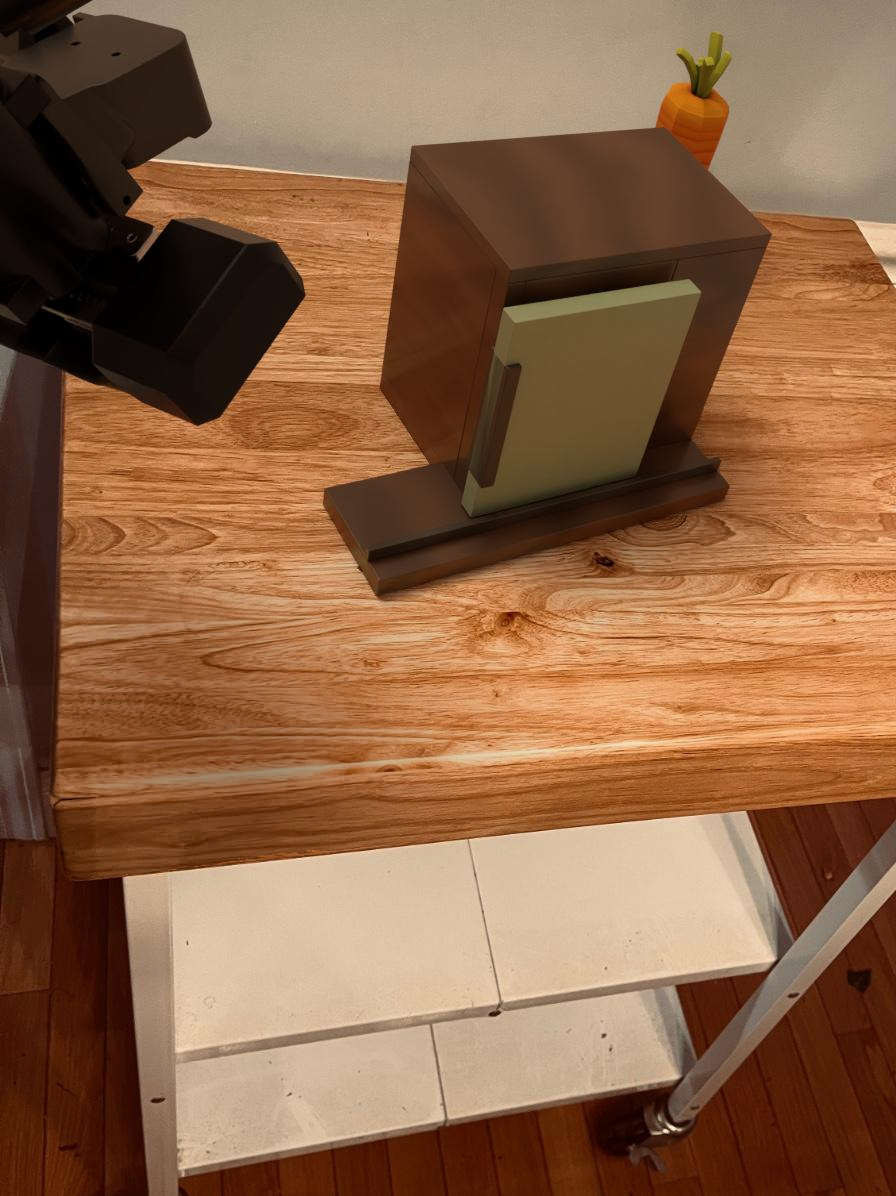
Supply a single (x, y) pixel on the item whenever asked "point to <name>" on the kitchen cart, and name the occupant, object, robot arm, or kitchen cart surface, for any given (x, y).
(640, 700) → the kitchen cart surface
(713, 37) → the carrot
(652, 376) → the door
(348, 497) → the cabinet
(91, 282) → the robot arm
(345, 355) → the kitchen cart surface
